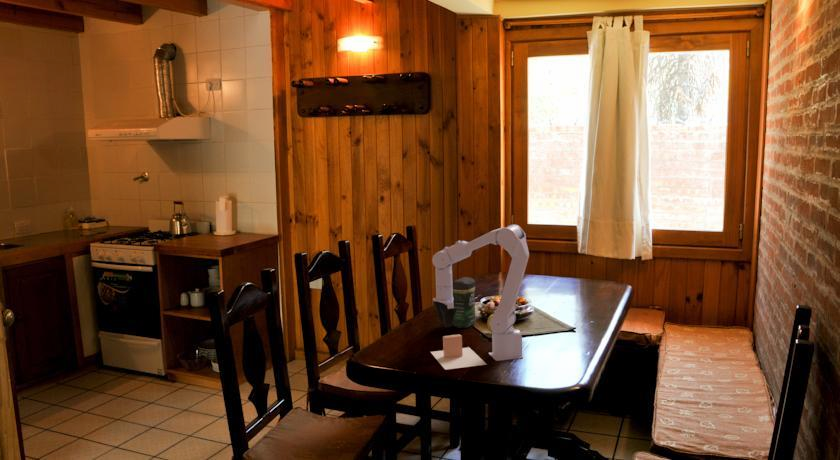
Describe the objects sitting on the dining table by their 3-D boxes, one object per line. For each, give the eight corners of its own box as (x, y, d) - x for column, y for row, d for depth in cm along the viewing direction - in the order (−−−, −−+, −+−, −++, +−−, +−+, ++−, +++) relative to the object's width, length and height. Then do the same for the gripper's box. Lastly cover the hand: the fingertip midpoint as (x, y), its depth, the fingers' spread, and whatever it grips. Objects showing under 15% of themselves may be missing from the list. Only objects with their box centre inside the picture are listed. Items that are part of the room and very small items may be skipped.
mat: (469, 348, 233) (469, 347, 233) (486, 365, 216) (486, 364, 216) (430, 353, 230) (430, 351, 230) (445, 370, 212) (445, 369, 212)
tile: (460, 354, 226) (460, 334, 225) (462, 356, 224) (461, 336, 223) (443, 356, 225) (442, 336, 224) (445, 358, 223) (444, 338, 222)
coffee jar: (467, 329, 255) (466, 281, 252) (449, 327, 259) (447, 280, 256) (479, 323, 263) (478, 276, 260) (461, 320, 267) (460, 274, 264)
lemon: (501, 331, 251) (500, 310, 250) (503, 336, 245) (503, 314, 244) (486, 332, 251) (486, 311, 249) (488, 336, 245) (488, 315, 244)
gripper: (427, 281, 235) (428, 319, 237) (438, 291, 221) (440, 330, 223) (446, 279, 236) (447, 317, 238) (459, 289, 222) (460, 328, 224)
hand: (445, 323), depth 231 cm, fingers open, 7 cm apart
